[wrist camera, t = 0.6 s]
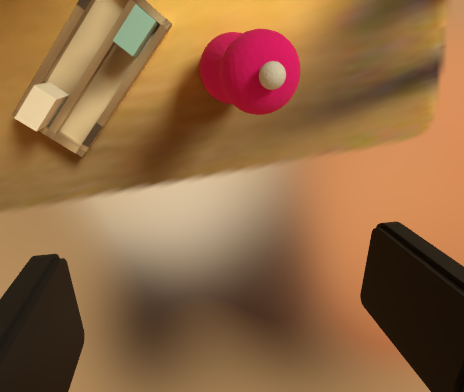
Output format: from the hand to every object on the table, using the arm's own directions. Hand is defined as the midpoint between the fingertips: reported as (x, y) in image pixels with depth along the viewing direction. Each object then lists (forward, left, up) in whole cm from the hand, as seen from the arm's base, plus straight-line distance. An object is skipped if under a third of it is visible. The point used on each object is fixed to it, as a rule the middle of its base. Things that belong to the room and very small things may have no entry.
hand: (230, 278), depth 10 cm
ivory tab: (-13, -8, -32) cm, 35 cm away
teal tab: (-9, +4, -32) cm, 33 cm away
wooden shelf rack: (-11, -2, -33) cm, 35 cm away
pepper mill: (+1, +7, -33) cm, 34 cm away
